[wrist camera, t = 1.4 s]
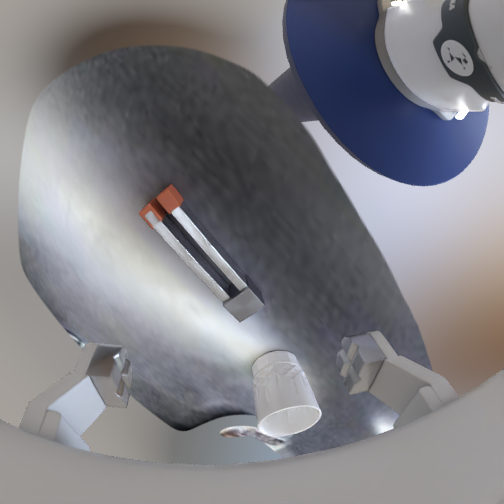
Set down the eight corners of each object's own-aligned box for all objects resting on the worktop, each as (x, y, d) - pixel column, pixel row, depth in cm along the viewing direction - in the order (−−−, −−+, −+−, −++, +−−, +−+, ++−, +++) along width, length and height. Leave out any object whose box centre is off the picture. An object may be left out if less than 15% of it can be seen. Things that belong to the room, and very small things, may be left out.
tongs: (144, 206, 25) (136, 214, 22) (171, 183, 24) (166, 189, 22) (236, 308, 31) (238, 323, 29) (262, 291, 31) (266, 305, 28)
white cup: (247, 350, 34) (258, 411, 25) (304, 343, 35) (327, 400, 26) (248, 384, 38) (257, 439, 29) (298, 378, 39) (315, 430, 30)
